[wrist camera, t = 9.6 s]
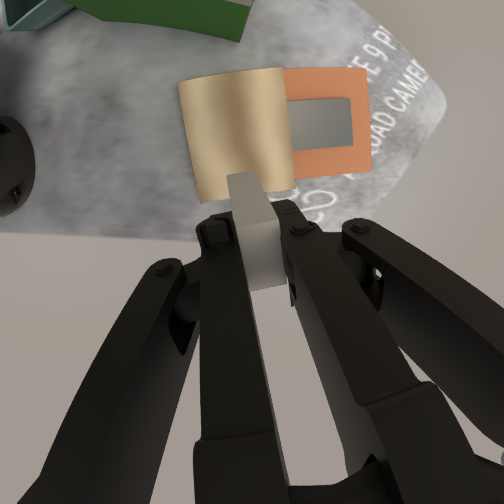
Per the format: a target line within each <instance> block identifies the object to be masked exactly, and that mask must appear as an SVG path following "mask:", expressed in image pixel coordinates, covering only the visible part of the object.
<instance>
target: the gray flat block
mask: <svg viewBox="0 0 504 504" xmlns="http://www.w3.org/2000/svg"><path fill="white" fill-rule="evenodd" d="M287 108H288V117H289V126H290V135H291V144H292V152H293V151H301V150H310V149H320V148H331V147H342V146H353V130H352V116H351V104H350V98H326V99H309V100H296V101H287Z"/></svg>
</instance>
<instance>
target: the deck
mask: <svg viewBox="0 0 504 504" xmlns="http://www.w3.org/2000/svg"><path fill="white" fill-rule="evenodd" d="M177 85H178V91H179V96H180V102H181V108H182V114H183V119H184V125H185V130H186V135H187V141H188V146H189V151H190V156H191V161H192V167H193V172H194V176H195V181H196V186H197V191H198V196H199V201H200V204H201V203H207V202H212V201H218V200H224V199H230V196H229V190H228V184H227V178H226V175H231V174H236V173H241V172H246V171H251V170H254V172H255V174H256V176H257V177H258V179H259V181H260V183H261V185H262V187H263V189H264V191H265V193H269V192H275V191H283V190H290V189H296V187H295V176H294V165H293V154H292V144H291V135H290V126H289V117H288V108H287V100H286V92H285V84H284V76H283V69H282V67H277V68H265V69H255V70H246V71H239V72H231V73H224V74H218V75H212V76H206V77H201V78H196V79H191V80H186V81H181V82H177Z"/></svg>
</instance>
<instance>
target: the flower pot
mask: <svg viewBox="0 0 504 504" xmlns="http://www.w3.org/2000/svg"><path fill="white" fill-rule="evenodd" d="M1 1H2V9H3V17H4V23H5V28H6V31H7V32H9V31H31V30H36V29H39V28H42V27H44V26H46V25H48V24H50V23H51V22H53V21H55V20H56V19H58V18H59V17H61V16H62V15H63V14H65V13H66V12H68V11H70V10H71V9H73V8H74V7H75V6H73V5H71V4H69V3H66V2H64V1H62V0H1Z"/></svg>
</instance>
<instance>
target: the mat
mask: <svg viewBox="0 0 504 504" xmlns="http://www.w3.org/2000/svg"><path fill="white" fill-rule="evenodd" d="M283 76H284V84H285V92H286V100H287V101H296V100H309V99H326V98H350V104H351V116H352V130H353V146H342V147H331V148H320V149H310V150H301V151H293V152H292V154H293V165H294V176H295V179H302V178H310V177H319V176H328V175H337V174H347V173H357V172H369V171H371V130H370V111H369V97H368V85H367V75H366V69H363V68H300V69H283Z"/></svg>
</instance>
